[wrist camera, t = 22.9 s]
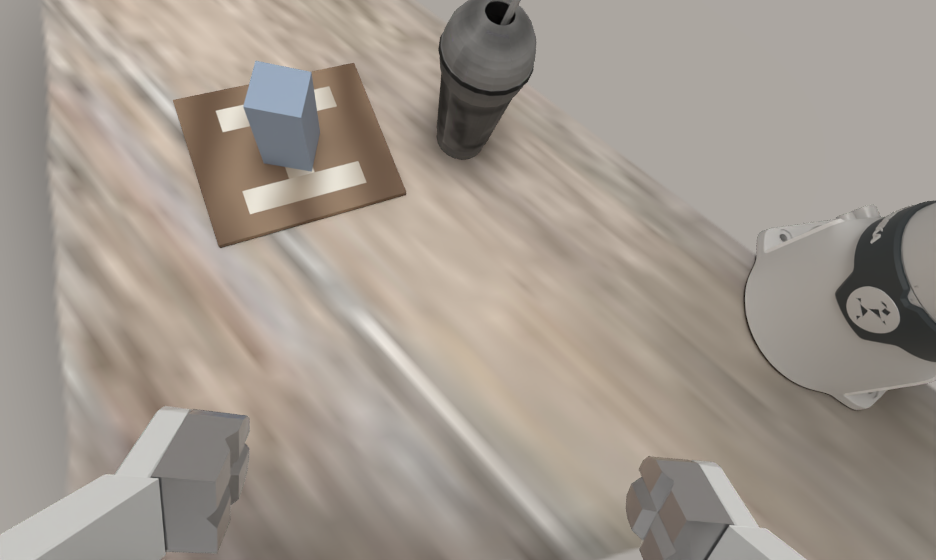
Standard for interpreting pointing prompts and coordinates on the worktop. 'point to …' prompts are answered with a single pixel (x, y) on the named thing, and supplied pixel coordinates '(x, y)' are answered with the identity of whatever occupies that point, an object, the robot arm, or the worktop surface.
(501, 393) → the worktop surface
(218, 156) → the board
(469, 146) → the beverage cup
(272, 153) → the slate block
